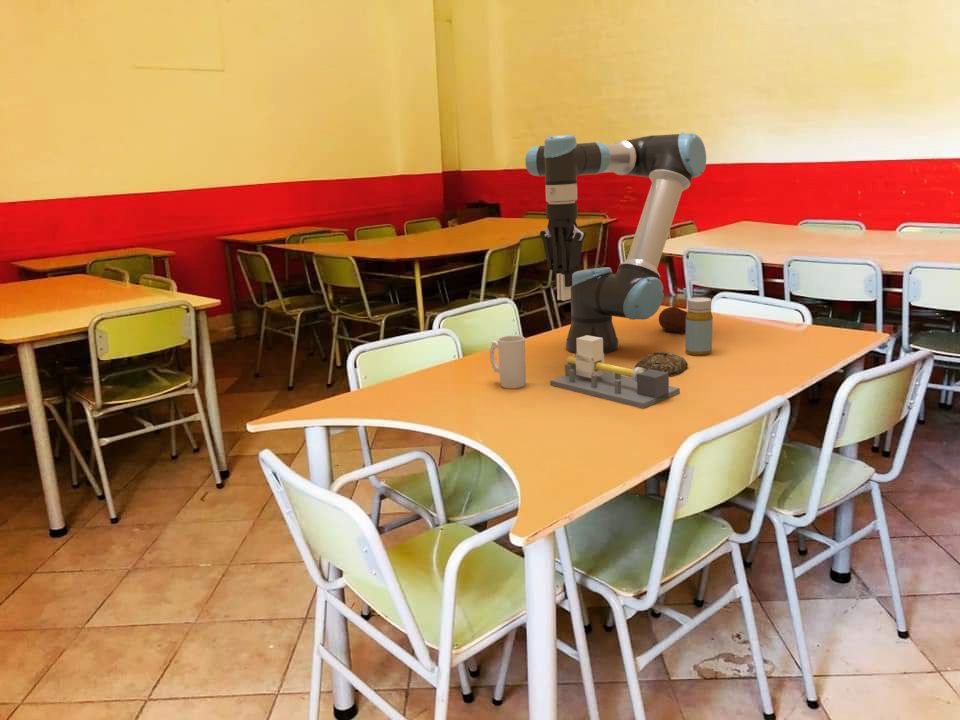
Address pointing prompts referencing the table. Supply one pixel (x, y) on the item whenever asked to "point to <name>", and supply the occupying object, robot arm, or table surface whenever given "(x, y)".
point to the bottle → (699, 326)
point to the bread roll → (663, 362)
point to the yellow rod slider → (619, 384)
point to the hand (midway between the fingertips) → (564, 299)
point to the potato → (673, 319)
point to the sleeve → (589, 355)
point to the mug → (510, 361)
